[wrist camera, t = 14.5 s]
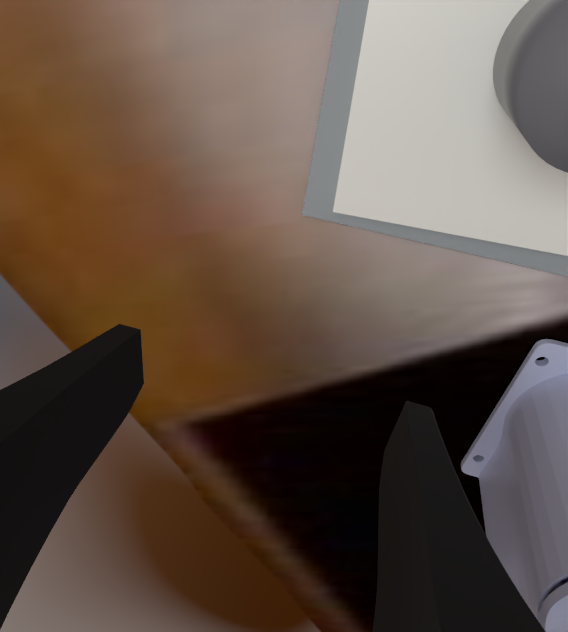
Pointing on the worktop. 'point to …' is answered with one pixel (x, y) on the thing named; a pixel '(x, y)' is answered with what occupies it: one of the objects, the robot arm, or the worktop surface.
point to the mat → (332, 146)
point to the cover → (462, 120)
